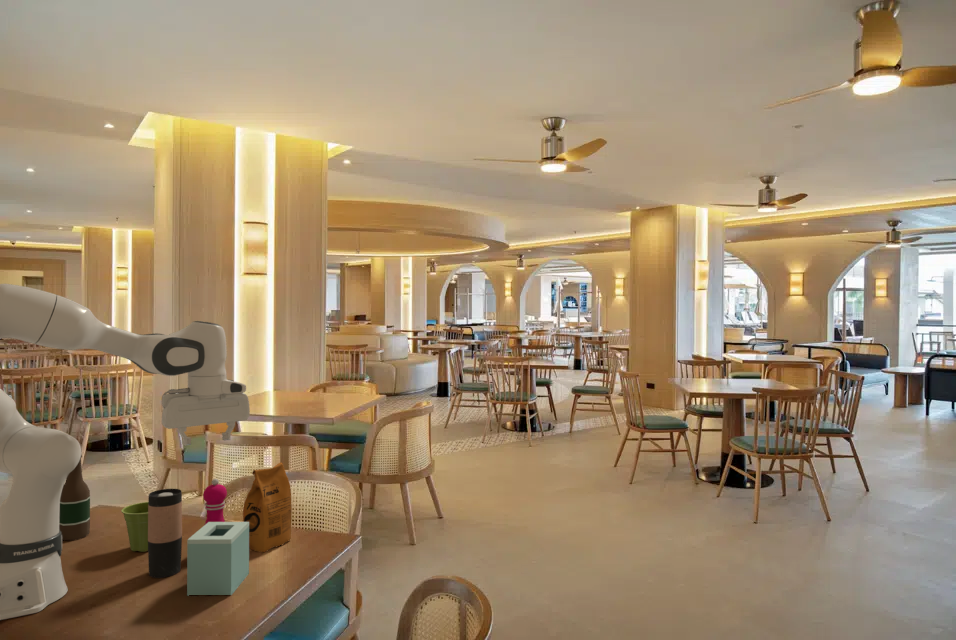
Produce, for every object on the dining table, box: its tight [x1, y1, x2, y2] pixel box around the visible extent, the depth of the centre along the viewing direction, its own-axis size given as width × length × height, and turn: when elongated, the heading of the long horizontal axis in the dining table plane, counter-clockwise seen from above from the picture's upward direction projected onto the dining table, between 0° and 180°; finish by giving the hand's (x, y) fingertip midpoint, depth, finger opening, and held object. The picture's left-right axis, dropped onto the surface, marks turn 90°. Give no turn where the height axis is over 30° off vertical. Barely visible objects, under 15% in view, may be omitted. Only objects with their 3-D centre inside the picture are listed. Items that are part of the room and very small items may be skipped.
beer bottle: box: [59, 454, 91, 541], centre depth 177 cm, size 8×8×24 cm
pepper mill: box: [202, 478, 228, 525], centre depth 166 cm, size 7×7×20 cm
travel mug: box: [147, 488, 183, 579], centre depth 153 cm, size 8×8×20 cm
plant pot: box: [121, 501, 148, 553], centre depth 169 cm, size 12×12×11 cm
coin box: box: [186, 521, 250, 597], centre depth 146 cm, size 12×10×13 cm
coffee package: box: [242, 462, 293, 553], centre depth 172 cm, size 10×12×22 cm
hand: (206, 442), depth 151 cm, fingers open, 8 cm apart
